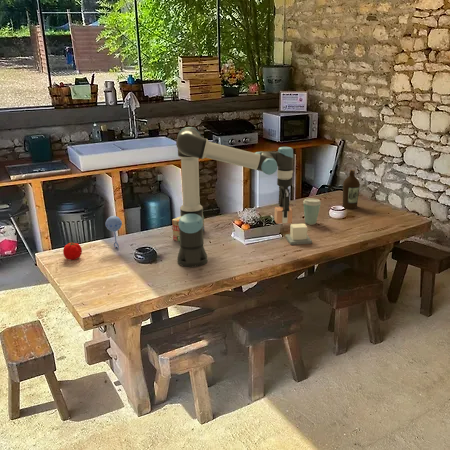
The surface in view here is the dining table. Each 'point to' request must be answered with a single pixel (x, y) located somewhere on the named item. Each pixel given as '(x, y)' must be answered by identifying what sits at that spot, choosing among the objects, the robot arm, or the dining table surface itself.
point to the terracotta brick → (279, 215)
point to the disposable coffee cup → (311, 210)
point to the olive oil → (350, 191)
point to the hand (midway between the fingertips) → (283, 220)
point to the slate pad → (301, 241)
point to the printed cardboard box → (176, 228)
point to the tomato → (72, 251)
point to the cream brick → (298, 231)
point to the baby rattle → (114, 226)
